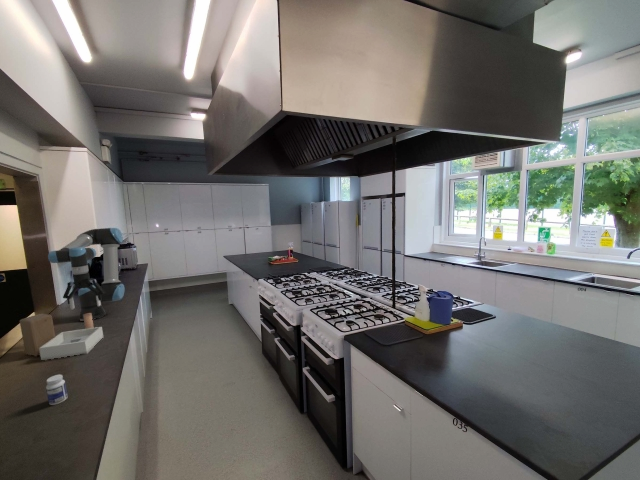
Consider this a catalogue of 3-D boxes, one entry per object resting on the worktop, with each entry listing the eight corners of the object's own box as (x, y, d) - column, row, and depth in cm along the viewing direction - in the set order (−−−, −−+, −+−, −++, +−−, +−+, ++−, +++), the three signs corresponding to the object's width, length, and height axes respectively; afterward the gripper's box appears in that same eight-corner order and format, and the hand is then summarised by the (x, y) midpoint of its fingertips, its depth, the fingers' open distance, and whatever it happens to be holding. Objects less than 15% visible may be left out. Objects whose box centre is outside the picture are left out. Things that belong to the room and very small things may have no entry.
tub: (63, 343, 168) (61, 332, 167) (103, 337, 173) (101, 326, 172) (41, 361, 149) (39, 348, 148) (86, 353, 154) (85, 341, 153)
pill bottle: (56, 396, 119) (52, 374, 118) (71, 395, 119) (67, 372, 118) (44, 406, 113) (40, 382, 112) (60, 404, 114) (56, 381, 112)
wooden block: (58, 348, 162) (52, 314, 160) (36, 357, 153) (29, 321, 150) (47, 346, 166) (41, 312, 163) (24, 355, 156) (18, 319, 154)
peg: (88, 335, 178) (85, 313, 176) (96, 334, 179) (92, 312, 177) (85, 338, 174) (81, 315, 172) (93, 336, 175) (89, 314, 173)
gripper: (51, 276, 164) (57, 312, 167) (102, 272, 171) (107, 306, 174) (59, 273, 172) (65, 308, 174) (107, 269, 178) (112, 302, 181)
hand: (86, 307), depth 174 cm, fingers open, 13 cm apart
